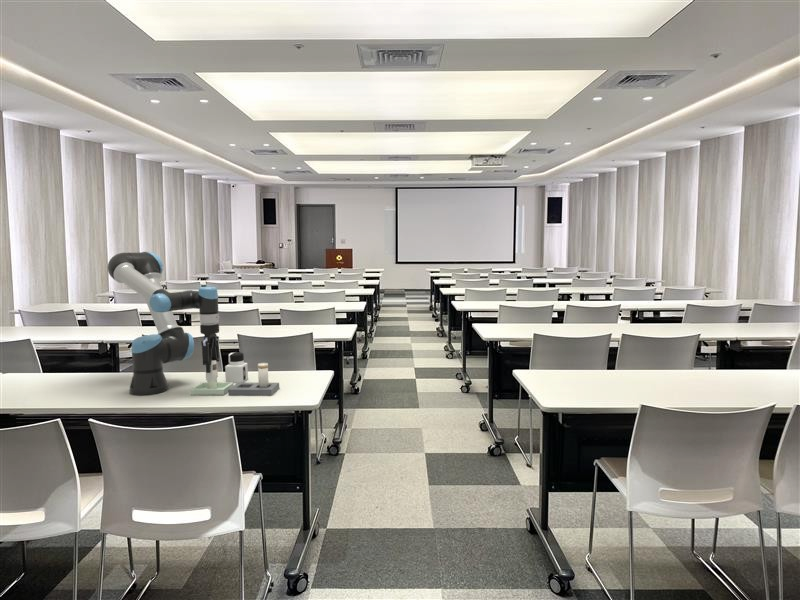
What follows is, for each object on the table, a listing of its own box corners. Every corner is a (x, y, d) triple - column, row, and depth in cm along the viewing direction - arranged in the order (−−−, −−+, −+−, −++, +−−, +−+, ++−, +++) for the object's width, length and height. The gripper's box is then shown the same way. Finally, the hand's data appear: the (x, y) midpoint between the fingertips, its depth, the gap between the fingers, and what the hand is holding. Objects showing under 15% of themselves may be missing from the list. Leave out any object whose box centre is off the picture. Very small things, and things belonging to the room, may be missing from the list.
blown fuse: (205, 390, 243) (204, 361, 242) (209, 387, 248) (208, 359, 246) (215, 390, 243) (214, 361, 242) (219, 387, 247) (217, 359, 246)
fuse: (257, 393, 242) (256, 364, 241) (260, 390, 246) (259, 362, 245) (267, 393, 242) (266, 364, 241) (270, 390, 246) (269, 362, 245)
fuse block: (228, 395, 239) (228, 389, 239) (238, 388, 251) (238, 382, 251) (271, 395, 238) (271, 389, 238) (279, 388, 250) (279, 382, 250)
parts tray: (190, 395, 240) (190, 389, 240) (202, 388, 252) (201, 382, 252) (223, 395, 239) (223, 389, 239) (233, 388, 251) (233, 382, 251)
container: (248, 379, 268) (247, 351, 266) (242, 383, 260) (241, 354, 259) (232, 378, 268) (230, 351, 267) (225, 383, 261) (224, 354, 259)
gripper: (210, 326, 234) (212, 383, 236) (225, 320, 251) (228, 373, 253) (192, 326, 234) (194, 383, 236) (208, 320, 251) (211, 373, 254)
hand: (211, 378), depth 245 cm, fingers open, 5 cm apart
